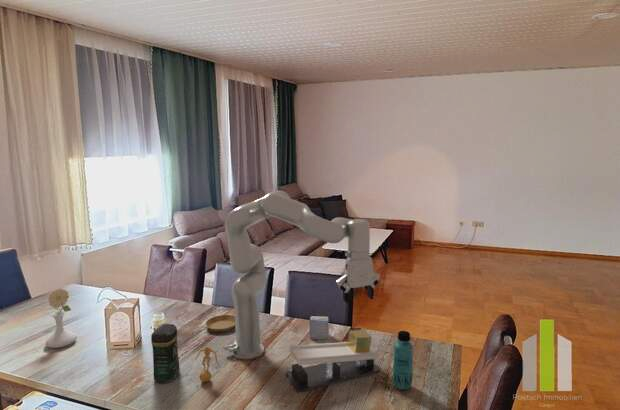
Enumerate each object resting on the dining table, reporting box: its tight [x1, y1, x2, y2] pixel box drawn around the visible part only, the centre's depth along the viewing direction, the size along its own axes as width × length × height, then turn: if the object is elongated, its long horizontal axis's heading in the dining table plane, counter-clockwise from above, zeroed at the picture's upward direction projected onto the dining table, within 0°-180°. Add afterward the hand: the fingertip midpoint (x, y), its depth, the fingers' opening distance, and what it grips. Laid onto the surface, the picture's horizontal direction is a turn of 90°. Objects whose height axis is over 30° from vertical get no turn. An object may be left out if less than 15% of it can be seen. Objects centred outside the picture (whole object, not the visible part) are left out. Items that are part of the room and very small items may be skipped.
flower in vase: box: [45, 287, 78, 349], centre depth 168 cm, size 13×11×25 cm
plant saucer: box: [205, 314, 235, 333], centre depth 184 cm, size 15×15×3 cm
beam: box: [289, 341, 378, 366], centre depth 144 cm, size 30×10×2 cm, turn 112°
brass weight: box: [347, 329, 373, 353], centre depth 148 cm, size 6×6×6 cm
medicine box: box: [309, 315, 330, 340], centre depth 172 cm, size 8×4×9 cm, turn 84°
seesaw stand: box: [285, 359, 381, 394], centre depth 145 cm, size 32×12×7 cm, turn 112°
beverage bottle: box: [392, 330, 414, 390], centre depth 135 cm, size 6×7×20 cm
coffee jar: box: [150, 323, 180, 383], centre depth 144 cm, size 10×8×19 cm
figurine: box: [195, 346, 218, 383], centre depth 142 cm, size 8×6×12 cm
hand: (358, 300), depth 145 cm, fingers open, 9 cm apart
